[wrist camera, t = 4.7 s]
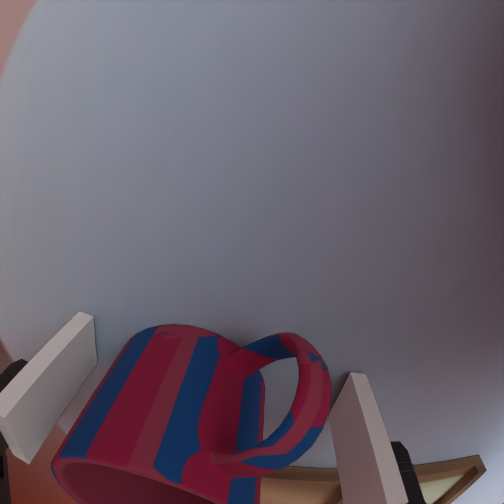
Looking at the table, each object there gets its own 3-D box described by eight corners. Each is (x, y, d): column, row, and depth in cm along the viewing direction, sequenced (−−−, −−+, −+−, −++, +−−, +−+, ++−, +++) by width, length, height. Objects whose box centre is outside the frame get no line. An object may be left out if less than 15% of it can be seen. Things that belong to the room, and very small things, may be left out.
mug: (95, 363, 13) (25, 466, 7) (262, 239, 11) (251, 371, 4) (190, 444, 14) (163, 549, 8) (359, 362, 12) (403, 499, 6)
